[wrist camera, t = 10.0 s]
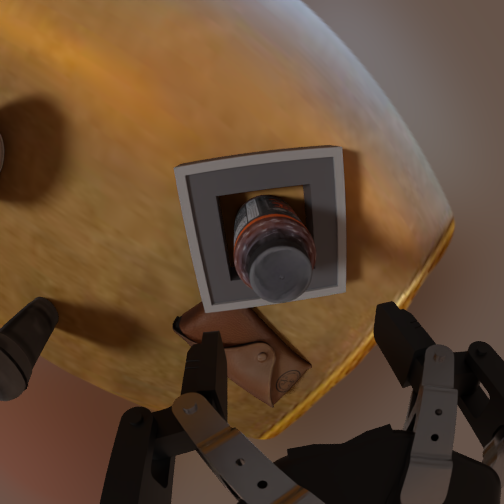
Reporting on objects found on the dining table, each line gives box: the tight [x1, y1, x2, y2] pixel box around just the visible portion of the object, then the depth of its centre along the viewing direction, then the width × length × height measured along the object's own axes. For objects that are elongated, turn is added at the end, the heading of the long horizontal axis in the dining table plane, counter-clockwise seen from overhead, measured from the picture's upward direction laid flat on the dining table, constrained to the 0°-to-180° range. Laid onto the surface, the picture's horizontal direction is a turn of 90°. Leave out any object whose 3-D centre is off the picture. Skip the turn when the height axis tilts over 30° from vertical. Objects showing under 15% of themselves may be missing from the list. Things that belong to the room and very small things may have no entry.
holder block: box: [174, 145, 346, 313], centre depth 27 cm, size 14×14×3 cm
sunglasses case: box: [173, 302, 312, 407], centre depth 33 cm, size 18×7×7 cm
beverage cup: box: [0, 297, 58, 401], centre depth 22 cm, size 7×7×20 cm
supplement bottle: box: [234, 195, 316, 303], centre depth 23 cm, size 6×6×11 cm
